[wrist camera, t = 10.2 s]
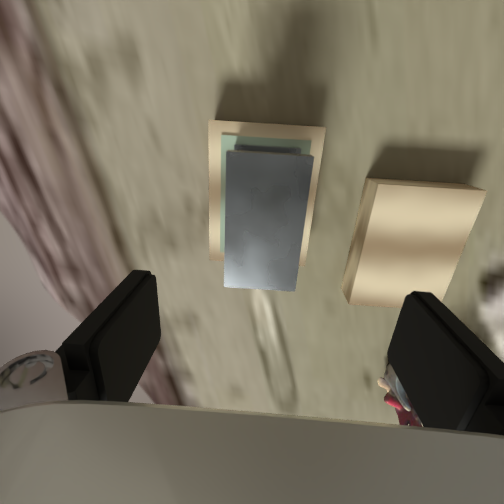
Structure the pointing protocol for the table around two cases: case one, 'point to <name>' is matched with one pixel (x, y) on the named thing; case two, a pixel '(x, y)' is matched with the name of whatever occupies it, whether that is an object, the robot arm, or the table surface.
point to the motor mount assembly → (398, 398)
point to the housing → (265, 215)
